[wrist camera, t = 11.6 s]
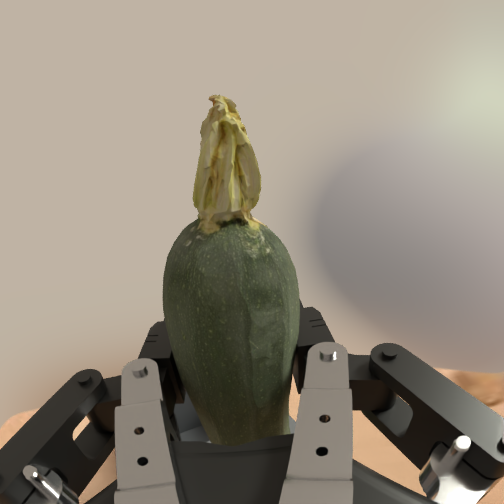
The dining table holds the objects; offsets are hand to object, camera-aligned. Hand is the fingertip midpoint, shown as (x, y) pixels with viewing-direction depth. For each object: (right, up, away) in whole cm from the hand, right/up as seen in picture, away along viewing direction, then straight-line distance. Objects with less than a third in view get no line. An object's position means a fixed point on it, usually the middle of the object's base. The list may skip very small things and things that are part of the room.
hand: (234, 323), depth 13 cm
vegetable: (+1, -11, +1) cm, 12 cm away
